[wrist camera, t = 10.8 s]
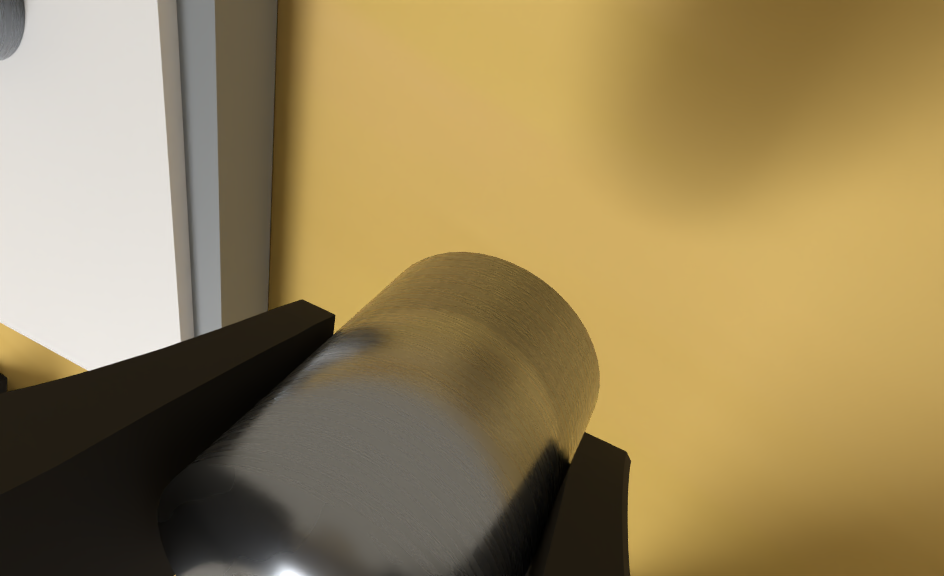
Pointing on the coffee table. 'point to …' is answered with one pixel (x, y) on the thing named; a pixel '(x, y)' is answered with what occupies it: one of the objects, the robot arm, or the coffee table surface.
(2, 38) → the cylinder
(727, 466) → the coffee table surface
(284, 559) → the cylinder
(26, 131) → the white grey-edged panel
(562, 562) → the robot arm
